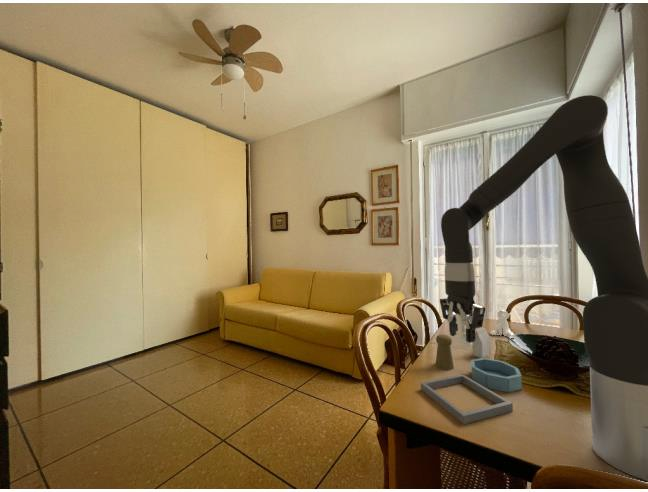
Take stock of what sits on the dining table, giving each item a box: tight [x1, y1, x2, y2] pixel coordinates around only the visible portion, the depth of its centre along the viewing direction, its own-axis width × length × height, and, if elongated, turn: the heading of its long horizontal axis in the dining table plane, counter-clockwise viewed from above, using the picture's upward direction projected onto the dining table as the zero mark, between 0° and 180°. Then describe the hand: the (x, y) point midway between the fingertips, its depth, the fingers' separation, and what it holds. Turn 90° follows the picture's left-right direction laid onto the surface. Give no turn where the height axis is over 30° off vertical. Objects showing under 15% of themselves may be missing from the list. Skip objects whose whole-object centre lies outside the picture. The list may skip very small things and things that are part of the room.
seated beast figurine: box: [489, 309, 515, 337], centre depth 121 cm, size 10×9×12 cm
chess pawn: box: [451, 314, 472, 348], centre depth 70 cm, size 5×5×9 cm
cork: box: [435, 334, 454, 371], centre depth 91 cm, size 6×6×11 cm
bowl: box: [470, 357, 523, 393], centre depth 80 cm, size 13×13×4 cm
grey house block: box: [471, 327, 492, 359], centre depth 99 cm, size 4×7×10 cm, turn 122°
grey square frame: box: [420, 374, 514, 425], centre depth 70 cm, size 16×16×2 cm
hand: (461, 338), depth 70 cm, fingers closed on chess pawn, 5 cm apart
